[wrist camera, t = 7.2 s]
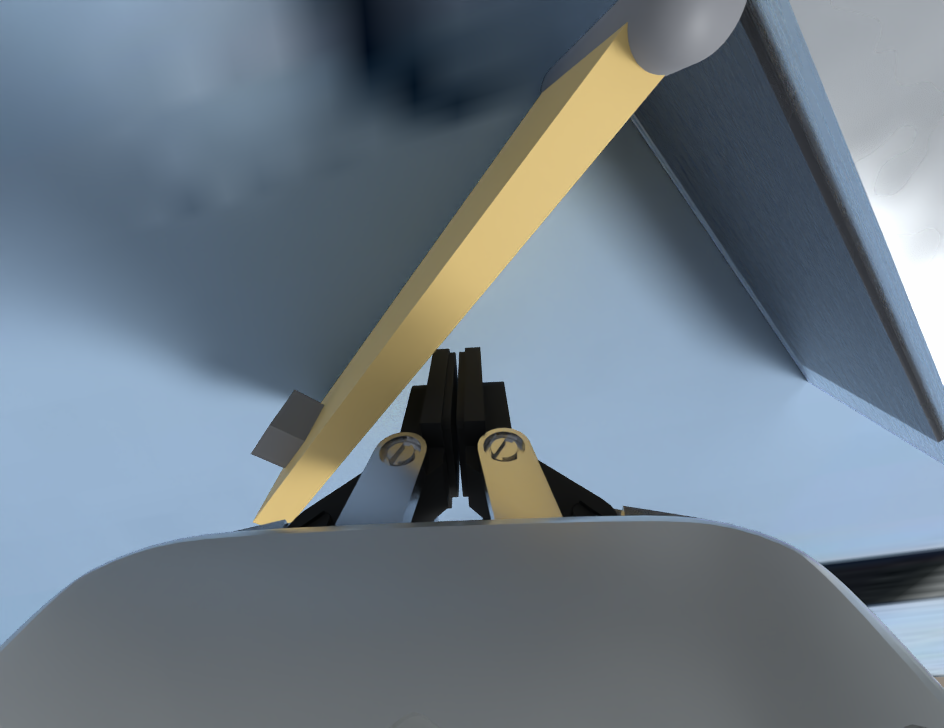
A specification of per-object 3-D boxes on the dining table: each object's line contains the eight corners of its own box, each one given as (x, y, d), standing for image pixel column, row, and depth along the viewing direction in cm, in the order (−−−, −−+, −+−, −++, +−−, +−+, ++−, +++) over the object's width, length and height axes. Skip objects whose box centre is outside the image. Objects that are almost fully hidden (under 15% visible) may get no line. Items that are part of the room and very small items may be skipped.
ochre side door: (341, 418, 16) (281, 553, 11) (293, 393, 15) (200, 526, 10) (595, 86, 10) (769, -11, 5) (540, 17, 9) (670, -204, 4)
